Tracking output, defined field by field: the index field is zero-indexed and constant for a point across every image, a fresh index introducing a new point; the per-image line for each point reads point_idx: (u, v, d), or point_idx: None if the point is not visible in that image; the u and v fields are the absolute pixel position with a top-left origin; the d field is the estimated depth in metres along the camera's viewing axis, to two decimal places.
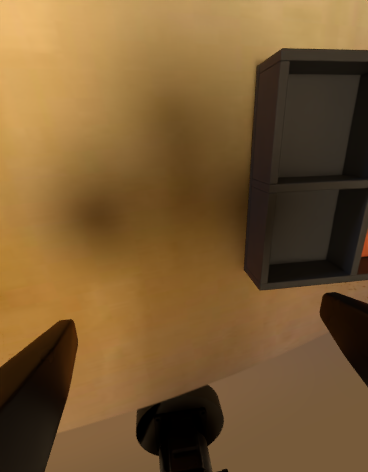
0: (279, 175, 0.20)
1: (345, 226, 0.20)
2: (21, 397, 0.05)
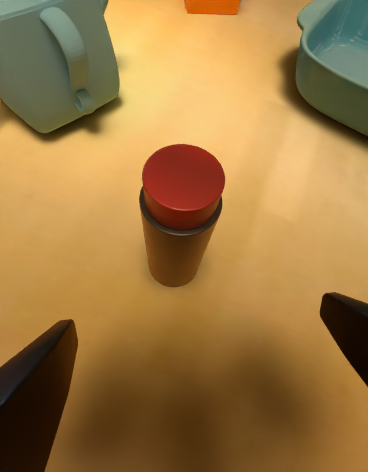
0: None
1: None
2: (21, 397, 0.05)
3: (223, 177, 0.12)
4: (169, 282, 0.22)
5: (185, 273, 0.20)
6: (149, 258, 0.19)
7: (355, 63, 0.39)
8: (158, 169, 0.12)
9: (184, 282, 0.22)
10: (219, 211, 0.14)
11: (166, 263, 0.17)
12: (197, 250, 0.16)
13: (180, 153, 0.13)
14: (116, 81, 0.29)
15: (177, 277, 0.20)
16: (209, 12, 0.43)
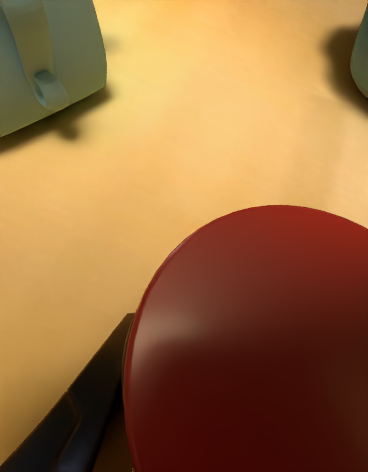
0: None
1: None
2: None
3: None
4: None
5: None
6: None
7: None
8: (200, 340, 0.03)
9: None
10: None
11: None
12: None
13: (281, 247, 0.03)
14: (101, 63, 0.19)
15: None
16: None
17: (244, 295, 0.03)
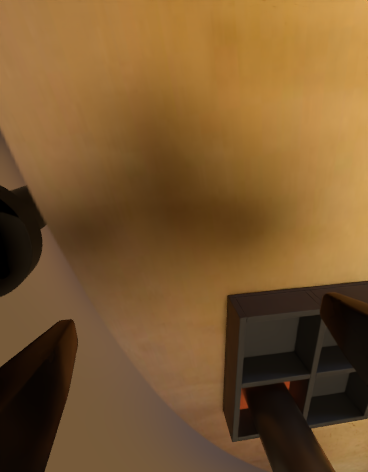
0: None
1: (271, 365, 0.26)
2: (21, 397, 0.05)
3: None
4: (254, 387, 0.26)
5: (257, 417, 0.24)
6: (286, 407, 0.24)
7: None
8: None
9: (245, 390, 0.27)
10: None
11: (279, 434, 0.22)
12: None
13: None
14: None
15: (258, 406, 0.25)
16: None
17: None
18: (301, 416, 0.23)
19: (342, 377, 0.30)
